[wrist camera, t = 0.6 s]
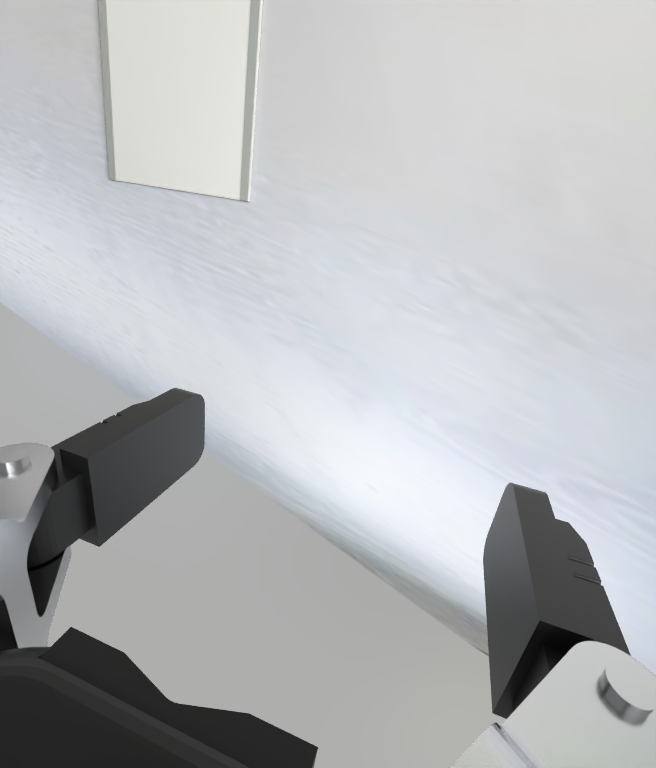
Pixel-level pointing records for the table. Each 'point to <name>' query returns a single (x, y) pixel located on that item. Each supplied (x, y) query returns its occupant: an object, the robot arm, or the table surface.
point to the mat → (181, 92)
